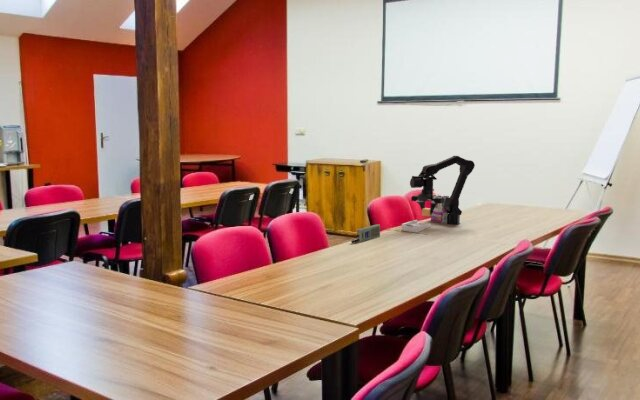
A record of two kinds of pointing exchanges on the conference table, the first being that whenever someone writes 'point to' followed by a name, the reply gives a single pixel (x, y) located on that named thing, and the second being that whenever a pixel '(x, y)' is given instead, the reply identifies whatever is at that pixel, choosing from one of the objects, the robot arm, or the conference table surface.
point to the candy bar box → (440, 210)
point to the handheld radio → (367, 233)
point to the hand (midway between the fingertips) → (427, 214)
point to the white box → (414, 226)
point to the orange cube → (426, 212)
